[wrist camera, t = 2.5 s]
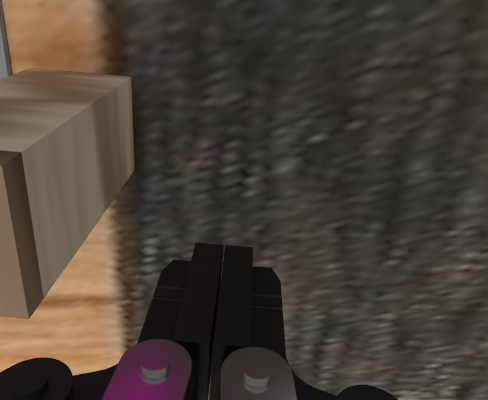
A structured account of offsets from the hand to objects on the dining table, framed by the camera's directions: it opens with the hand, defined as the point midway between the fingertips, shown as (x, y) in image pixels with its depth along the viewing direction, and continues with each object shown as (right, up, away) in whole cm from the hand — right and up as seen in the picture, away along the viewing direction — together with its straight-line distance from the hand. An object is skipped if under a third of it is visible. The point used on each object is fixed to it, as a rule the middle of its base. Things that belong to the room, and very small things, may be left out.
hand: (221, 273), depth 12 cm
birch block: (-8, +6, +11) cm, 15 cm away
